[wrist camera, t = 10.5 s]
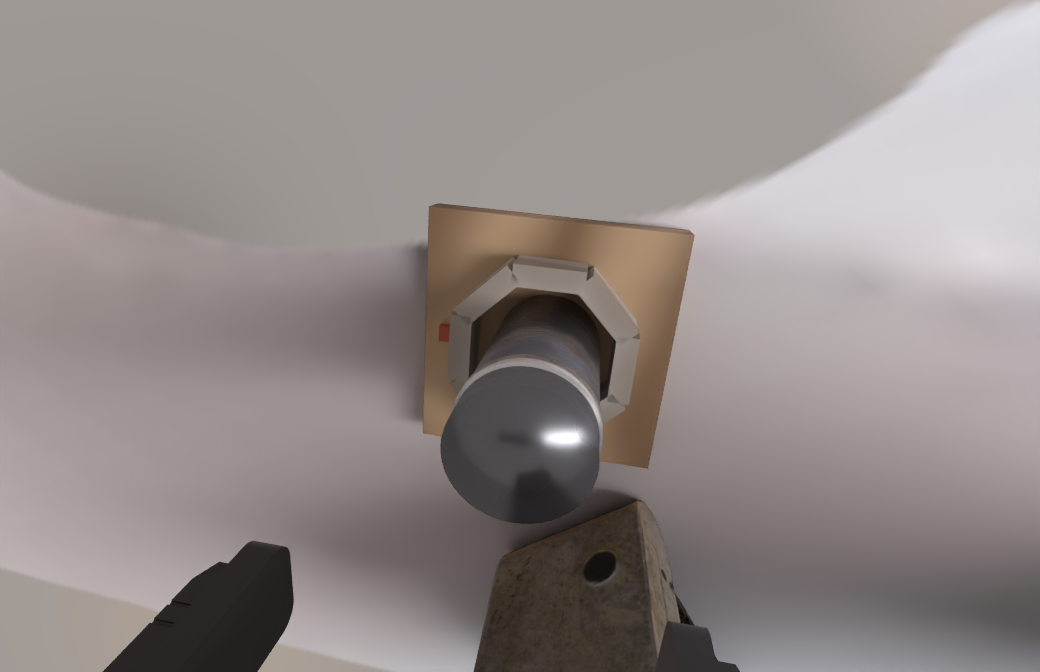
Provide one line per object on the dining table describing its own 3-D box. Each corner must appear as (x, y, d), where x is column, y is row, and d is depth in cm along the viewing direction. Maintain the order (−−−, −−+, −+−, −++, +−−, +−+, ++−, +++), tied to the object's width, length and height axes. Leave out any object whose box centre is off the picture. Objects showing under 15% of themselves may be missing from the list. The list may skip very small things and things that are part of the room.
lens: (609, 300, 25) (614, 394, 15) (594, 399, 26) (590, 538, 17) (499, 286, 25) (440, 370, 16) (492, 385, 27) (434, 512, 18)
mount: (689, 230, 25) (702, 242, 21) (645, 452, 29) (651, 491, 25) (438, 203, 26) (414, 211, 23) (431, 419, 30) (410, 453, 27)
